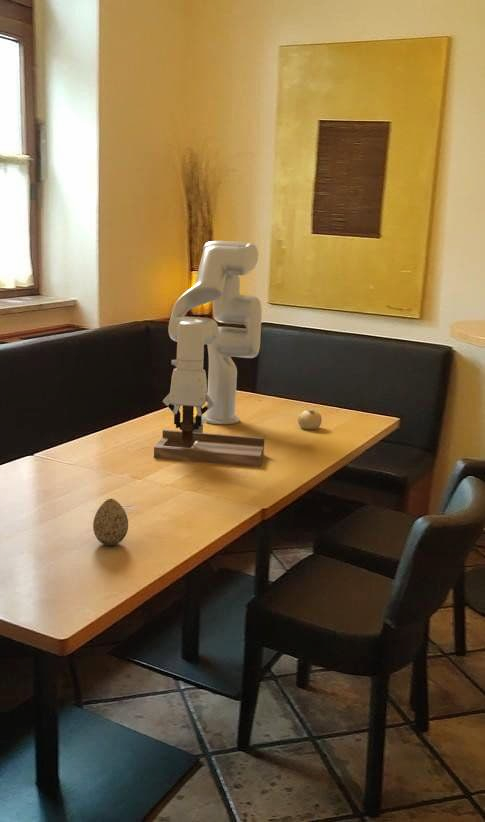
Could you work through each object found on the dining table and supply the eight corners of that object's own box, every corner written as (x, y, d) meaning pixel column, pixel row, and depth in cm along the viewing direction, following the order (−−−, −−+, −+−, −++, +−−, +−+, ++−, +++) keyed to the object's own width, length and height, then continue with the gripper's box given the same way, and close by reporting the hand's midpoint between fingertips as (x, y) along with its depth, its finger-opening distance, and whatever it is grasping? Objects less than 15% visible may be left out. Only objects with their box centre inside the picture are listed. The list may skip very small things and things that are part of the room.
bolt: (198, 439, 235) (200, 389, 231) (195, 444, 230) (197, 393, 227) (178, 438, 235) (180, 387, 232) (175, 442, 231) (177, 391, 227)
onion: (292, 427, 270) (293, 406, 268) (308, 424, 275) (310, 403, 274) (309, 432, 264) (311, 411, 263) (326, 429, 270) (327, 408, 268)
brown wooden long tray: (162, 446, 240) (163, 429, 239) (263, 454, 237) (264, 438, 236) (153, 457, 229) (154, 440, 227) (259, 466, 226) (260, 449, 224)
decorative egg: (85, 545, 167) (86, 499, 165) (108, 534, 173) (109, 490, 171) (112, 554, 163) (113, 507, 161) (134, 543, 169) (136, 498, 167)
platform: (164, 442, 246) (165, 421, 244) (189, 429, 262) (189, 409, 261) (200, 448, 242) (201, 427, 240) (223, 434, 258) (224, 414, 257)
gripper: (157, 365, 225) (155, 428, 229) (218, 369, 223) (215, 433, 227) (162, 360, 232) (161, 422, 236) (221, 364, 230) (218, 426, 235)
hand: (187, 427), depth 232 cm, fingers closed on bolt, 5 cm apart
